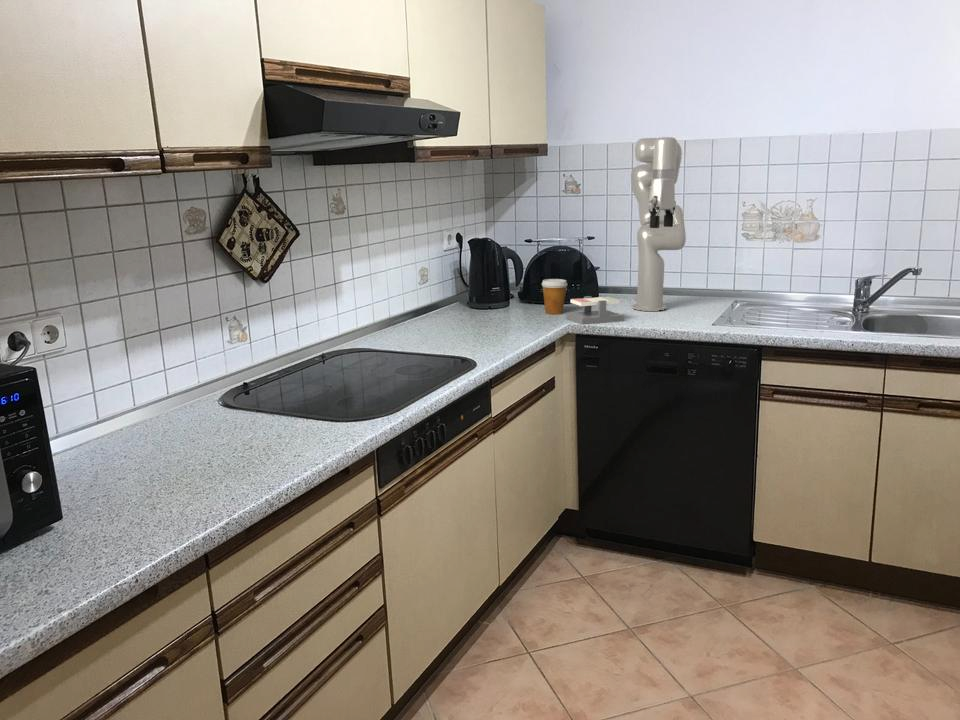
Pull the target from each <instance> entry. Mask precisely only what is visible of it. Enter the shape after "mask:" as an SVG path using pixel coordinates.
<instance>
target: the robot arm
mask: <svg viewBox="0 0 960 720" xmlns="http://www.w3.org/2000/svg"><path fill="white" fill-rule="evenodd" d="M682 150H683V149H682V147H681V144H680V143H679V142H678V141H677V139H676V138H675V137H673V136H671V137H670V136H665V137H663V136H662V137H646V138H644V137H642V138H640V139H637V141H636V143H635V147H634V156H635V159H636V161H637V162H639V163H644V164H638V165H636V166H635V167H633V169H632V170H631V174H630V182H631V183H630V184H631V189H632V192H633V195H634V197H635V198H636V201H637V204H638V205H637V206H638V215H639V218H638V219H639V222H640V227H639V228H638V230H637V233H636V240H637V249H638V250H637V251H638V268H637V292H636V296H634V297H633V300H634V301H636V303H634V304H632V307H631V308H632V309H633V310H635V309H636V310H637V311H640V310H641V312H642V311H643V312H660V311H659V310H663V311H665V310H664V309H666V310H667V305H665V304H663V301H664V299H663V298H664V282H665V281H664V280H665V278H664V277H665V261H664V258H663V257H662V256H661V254H660V253H659V252H658V251H678V250H682V249H683V248H684V247H685V246H686V245H685V244H686V240H687V238H686V237H687V236H686V235H687V234H686V227H685V226H686V225H685V218H684V214H683V213H684V212H683V209H682V208H681V206H680V205H679V204H676V203H677V201H676V200H675V199H676V198H675V195H676V193H675V190H676V189H675V185H676V184H677V182H678V177H679V173H680V167H681V163H682V155H683V151H682ZM645 163H646V164H645Z"/></svg>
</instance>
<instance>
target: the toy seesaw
mask: <svg viewBox="0 0 960 720" xmlns="http://www.w3.org/2000/svg"><path fill="white" fill-rule="evenodd" d="M583 298H593V297H592V296H591V295H589V296H588V295H587V296H584V297H583ZM597 306H598V309H597V310H592V306H583V311H576V312H575V311H574V312H566V315H565V318H566V320H569V321H572V322H575V323H578V324H580V325H590V324H603V323H614V322H616V323H617V322H624V315H623V314H621V313H620V314H619V313H618V312H614V311H610V310H607V304H606V301H605V300H602V301H598V305H597Z"/></svg>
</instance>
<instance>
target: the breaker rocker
mask: <svg viewBox="0 0 960 720" xmlns="http://www.w3.org/2000/svg"><path fill="white" fill-rule="evenodd" d="M602 300H605V301H606V305H617V304H618V305H619V304H620V303H621V302H620V301H621V300H620V299H619V298H614V297H611V296H600V297H592V298H584V297H583V298H581V297H580V298H570V303H569V304H573V305H576V306H578V307H584V306H591V307H592V306H598V301H602Z"/></svg>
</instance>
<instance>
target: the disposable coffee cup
mask: <svg viewBox="0 0 960 720" xmlns="http://www.w3.org/2000/svg"><path fill="white" fill-rule="evenodd" d="M541 286H542V291H543V292H542V293H543V301H544V302H543V303H544V310H545V311H544V312H545V314H547V315H562V314H563V312H564V307H565V299H566V298H565V297H566V292H567V287H568V282H567V280H566V279H561V278H547V279H543V280H542V282H541Z"/></svg>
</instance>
